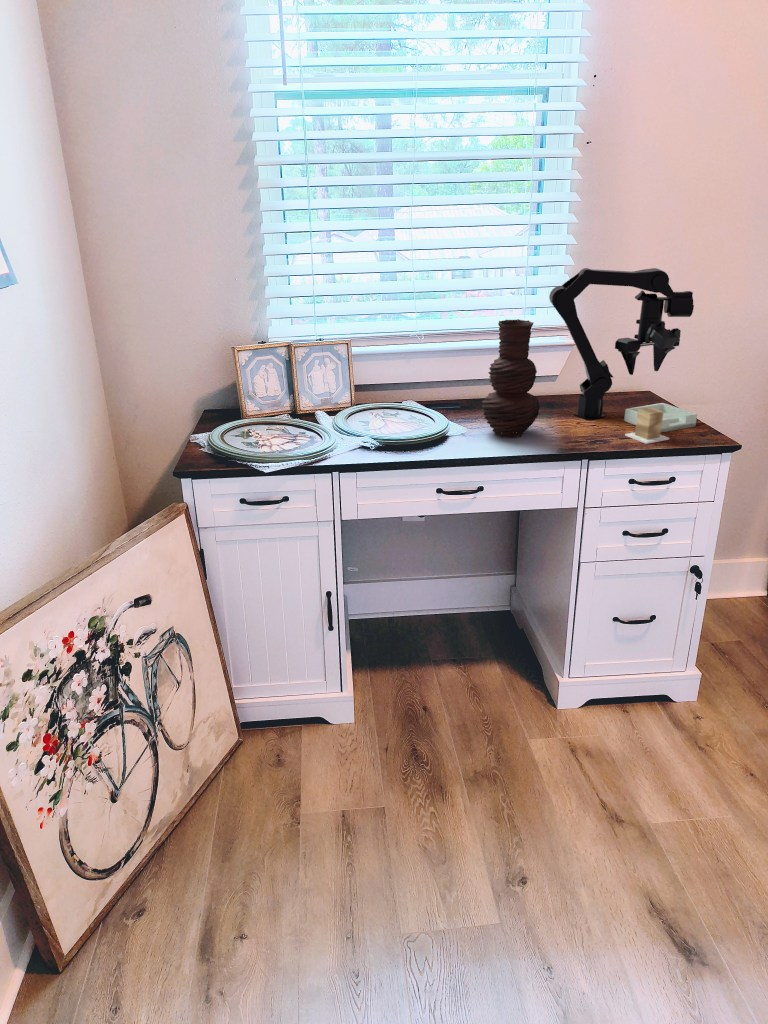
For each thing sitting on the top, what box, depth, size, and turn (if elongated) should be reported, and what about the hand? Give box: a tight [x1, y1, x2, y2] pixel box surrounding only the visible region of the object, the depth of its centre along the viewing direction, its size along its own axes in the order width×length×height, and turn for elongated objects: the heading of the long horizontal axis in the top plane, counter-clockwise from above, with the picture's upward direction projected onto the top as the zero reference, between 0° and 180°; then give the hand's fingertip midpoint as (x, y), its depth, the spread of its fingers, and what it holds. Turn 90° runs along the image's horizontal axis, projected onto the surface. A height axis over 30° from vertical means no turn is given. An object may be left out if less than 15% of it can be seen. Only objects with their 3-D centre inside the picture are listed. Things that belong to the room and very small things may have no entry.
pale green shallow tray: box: [623, 402, 698, 434], centre depth 213 cm, size 14×13×4 cm
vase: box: [481, 319, 541, 439], centre depth 201 cm, size 15×15×30 cm
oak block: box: [634, 408, 663, 440], centre depth 201 cm, size 4×4×7 cm
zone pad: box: [624, 431, 670, 445], centre depth 202 cm, size 8×8×1 cm
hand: (643, 372), depth 214 cm, fingers open, 9 cm apart
